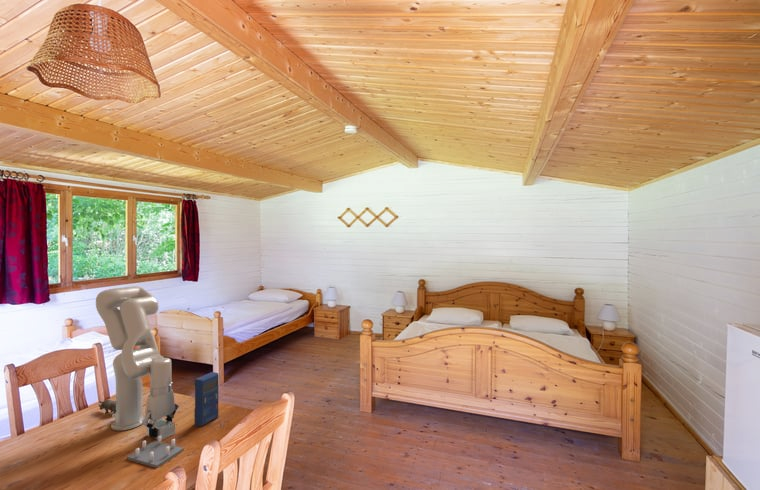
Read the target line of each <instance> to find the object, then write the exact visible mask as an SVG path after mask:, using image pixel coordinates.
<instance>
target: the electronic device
mask: <svg viewBox="0 0 760 490" xmlns="http://www.w3.org/2000/svg"><path fill="white" fill-rule="evenodd" d="M219 375H220V374H219V372H215V371H214V372H213V371H211V372H209V373H207V374H204V375H201V376H200V377H197V378H195V379H194V421H193V422H194V425H195V426H198V427H202V426H205V425H206V424H209V423H210V422H212V421H214V420H215V419H216V418H218V417H219V385H220V384H219V382H220V381H219V379H220V378H219Z"/></svg>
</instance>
